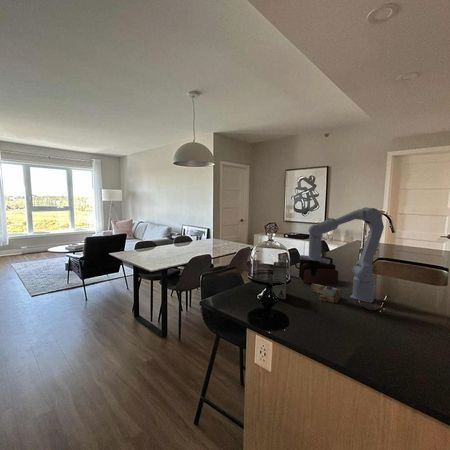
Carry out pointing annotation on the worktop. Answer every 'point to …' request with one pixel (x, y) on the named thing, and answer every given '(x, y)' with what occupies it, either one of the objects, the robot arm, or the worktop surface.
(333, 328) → the worktop surface
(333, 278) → the letter holder
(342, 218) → the robot arm
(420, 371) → the worktop surface
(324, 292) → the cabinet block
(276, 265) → the coffee box
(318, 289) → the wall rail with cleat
